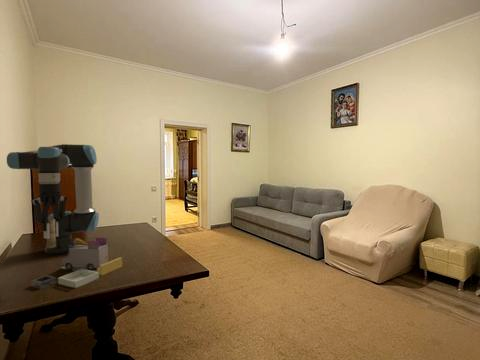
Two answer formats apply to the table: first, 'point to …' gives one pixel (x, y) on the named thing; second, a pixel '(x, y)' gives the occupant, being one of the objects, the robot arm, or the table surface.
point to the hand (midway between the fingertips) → (51, 237)
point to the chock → (110, 266)
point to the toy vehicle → (87, 254)
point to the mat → (79, 268)
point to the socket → (43, 282)
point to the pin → (51, 234)
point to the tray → (78, 278)
